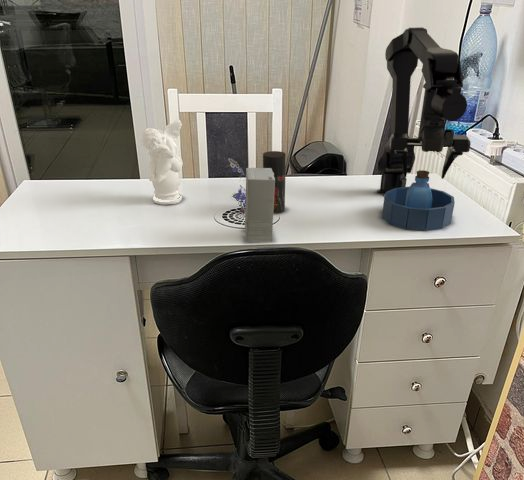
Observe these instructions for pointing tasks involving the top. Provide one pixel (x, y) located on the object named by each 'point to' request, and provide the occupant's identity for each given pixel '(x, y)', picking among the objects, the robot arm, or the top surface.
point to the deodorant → (277, 177)
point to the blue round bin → (417, 211)
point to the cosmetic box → (259, 204)
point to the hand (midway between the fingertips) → (423, 177)
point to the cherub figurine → (164, 161)
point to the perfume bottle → (419, 192)
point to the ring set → (239, 189)
